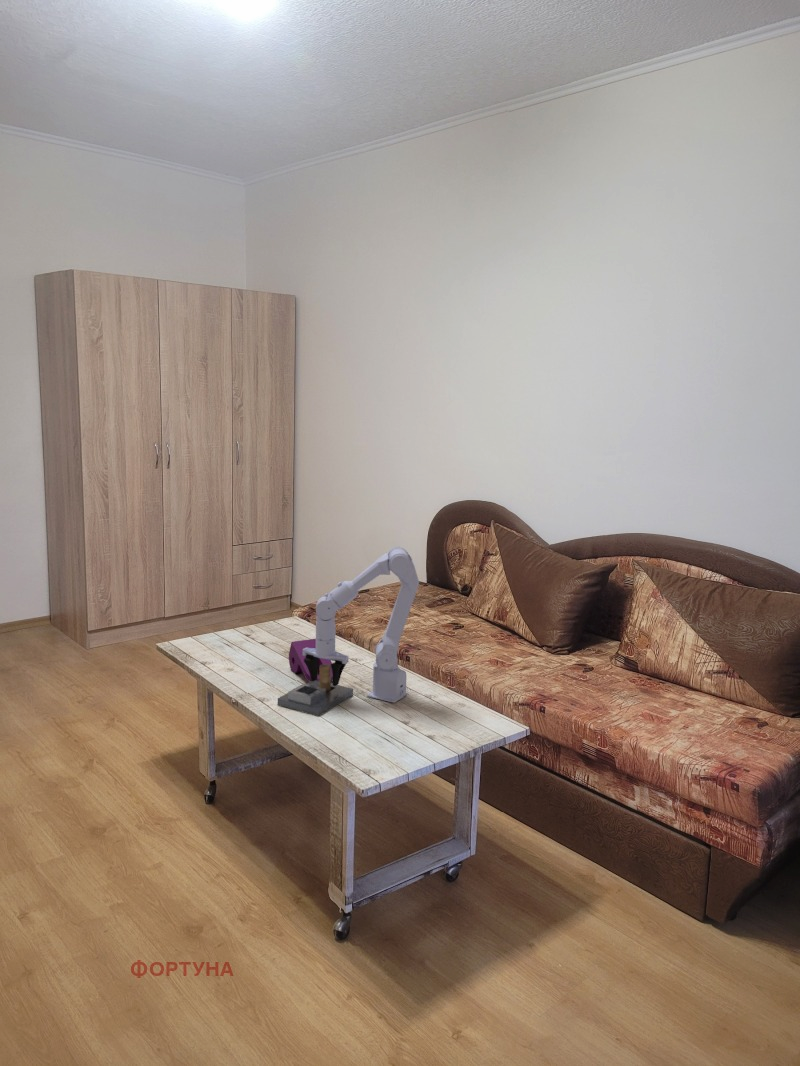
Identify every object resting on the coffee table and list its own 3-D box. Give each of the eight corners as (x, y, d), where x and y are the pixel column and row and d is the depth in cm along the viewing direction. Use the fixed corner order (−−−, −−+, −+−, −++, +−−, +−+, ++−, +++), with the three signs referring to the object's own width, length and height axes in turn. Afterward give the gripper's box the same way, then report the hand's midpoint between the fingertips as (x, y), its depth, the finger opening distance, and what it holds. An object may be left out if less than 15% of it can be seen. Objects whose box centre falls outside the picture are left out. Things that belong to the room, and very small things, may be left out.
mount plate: (353, 695, 237) (353, 680, 236) (318, 715, 221) (318, 700, 221) (313, 685, 244) (314, 671, 243) (277, 705, 228) (277, 690, 227)
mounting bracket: (334, 696, 250) (314, 657, 263) (339, 677, 246) (319, 638, 258) (305, 701, 246) (287, 661, 258) (310, 682, 241) (291, 641, 254)
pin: (332, 694, 237) (333, 665, 235) (326, 698, 234) (326, 668, 233) (323, 692, 239) (323, 663, 237) (316, 695, 236) (317, 666, 234)
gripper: (354, 638, 234) (353, 682, 236) (311, 630, 240) (311, 673, 242) (341, 645, 227) (340, 690, 230) (298, 636, 234) (298, 681, 236)
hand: (324, 682), depth 236 cm, fingers open, 7 cm apart
